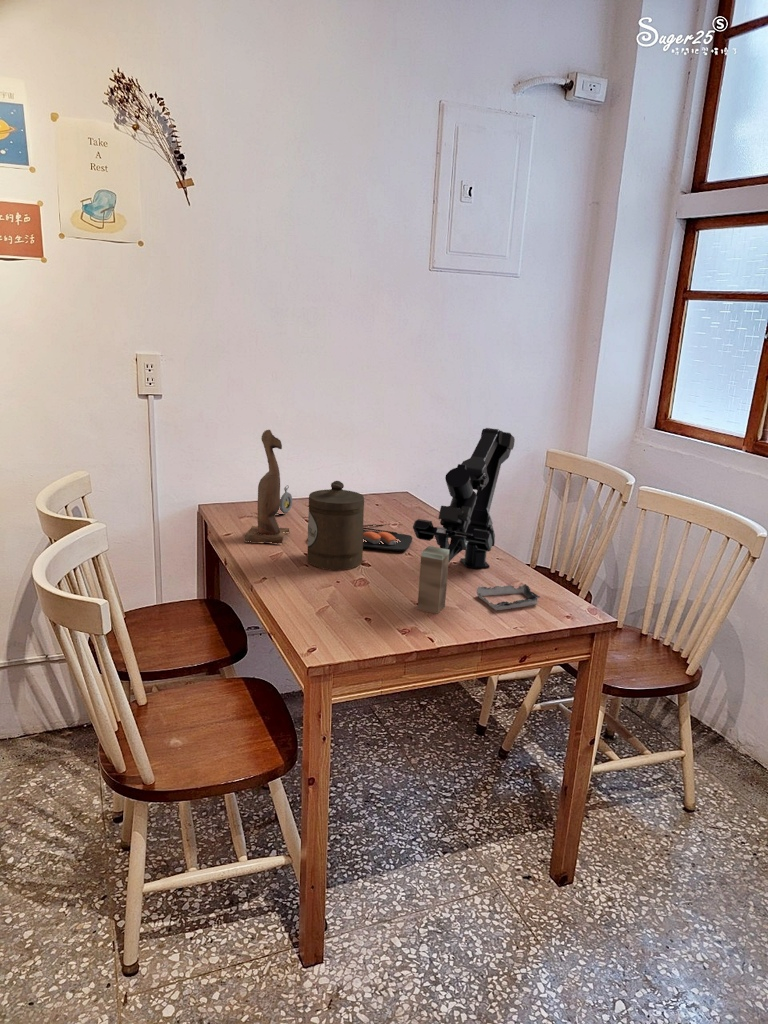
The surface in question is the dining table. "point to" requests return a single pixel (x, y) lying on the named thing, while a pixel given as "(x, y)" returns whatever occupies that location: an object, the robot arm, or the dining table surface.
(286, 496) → the pocket watch
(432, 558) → the grey-green metal block
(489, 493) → the robot arm
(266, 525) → the bird sculpture
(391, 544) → the sushi plate
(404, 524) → the dining table surface
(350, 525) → the wooden container
